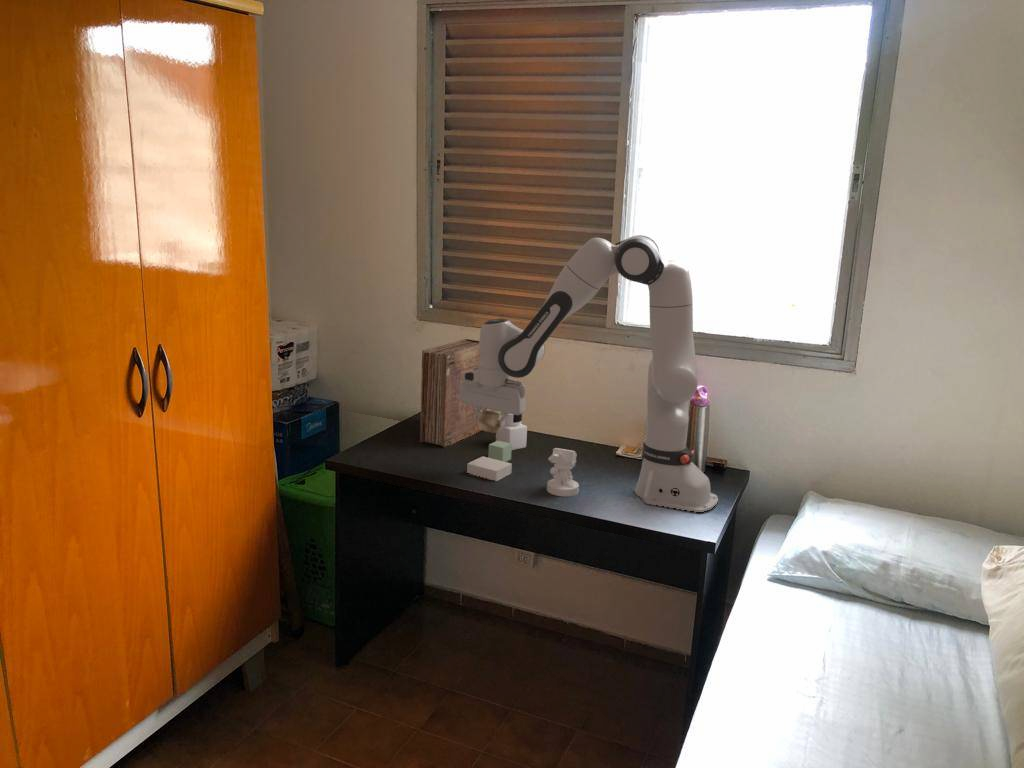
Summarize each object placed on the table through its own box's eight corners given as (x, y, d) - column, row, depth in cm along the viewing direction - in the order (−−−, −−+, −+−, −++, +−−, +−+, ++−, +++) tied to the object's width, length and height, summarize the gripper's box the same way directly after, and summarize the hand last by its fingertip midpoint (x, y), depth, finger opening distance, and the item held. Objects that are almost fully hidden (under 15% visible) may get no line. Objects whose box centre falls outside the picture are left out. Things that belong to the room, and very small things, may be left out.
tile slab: (511, 473, 235) (511, 463, 234) (496, 481, 228) (496, 471, 227) (482, 465, 240) (482, 456, 239) (467, 473, 233) (467, 463, 232)
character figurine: (542, 493, 221) (545, 451, 218) (553, 481, 230) (555, 441, 227) (573, 498, 219) (576, 456, 216) (583, 486, 227) (585, 446, 224)
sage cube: (511, 459, 247) (511, 443, 246) (502, 463, 243) (503, 447, 242) (497, 456, 249) (497, 440, 248) (488, 460, 245) (488, 444, 244)
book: (443, 448, 253) (446, 354, 246) (419, 443, 258) (421, 350, 250) (486, 429, 275) (489, 342, 267) (463, 424, 279) (466, 338, 272)
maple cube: (503, 428, 232) (503, 412, 230) (493, 433, 227) (494, 415, 226) (488, 425, 234) (489, 408, 233) (478, 429, 230) (479, 412, 229)
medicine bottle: (512, 441, 264) (514, 405, 261) (526, 447, 258) (528, 411, 255) (495, 444, 259) (496, 408, 256) (508, 451, 254) (510, 414, 251)
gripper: (531, 380, 224) (528, 428, 228) (469, 368, 235) (468, 414, 238) (519, 384, 219) (516, 433, 223) (457, 372, 229) (455, 419, 233)
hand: (491, 423), depth 230 cm, fingers closed on maple cube, 5 cm apart
